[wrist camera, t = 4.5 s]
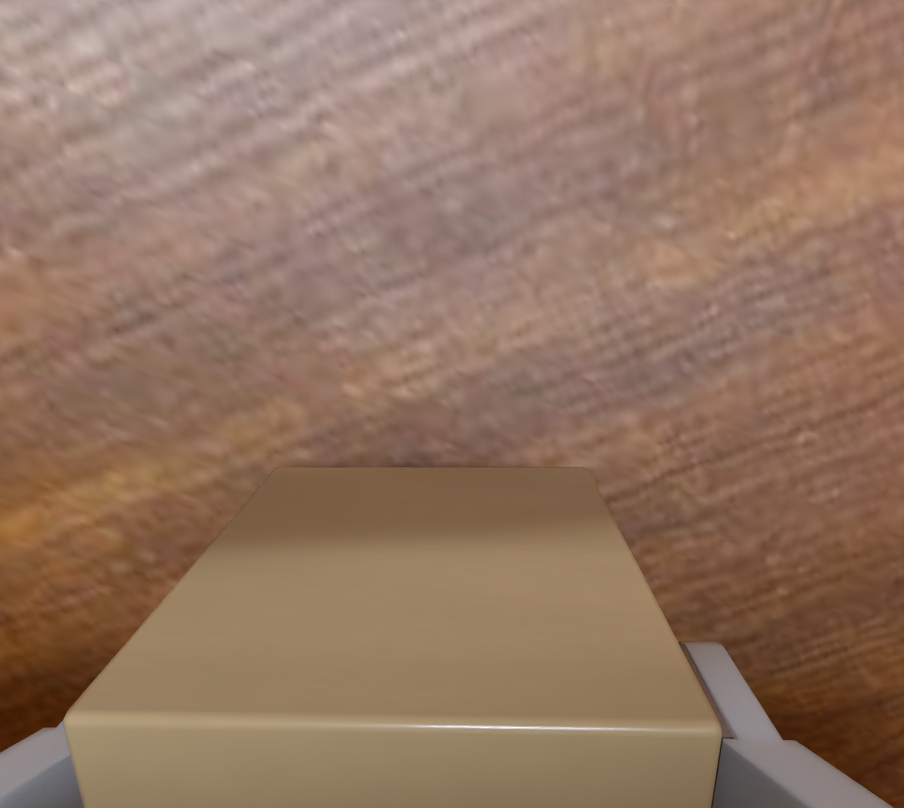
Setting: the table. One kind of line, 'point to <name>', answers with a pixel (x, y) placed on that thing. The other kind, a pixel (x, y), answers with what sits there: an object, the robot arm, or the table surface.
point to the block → (403, 657)
